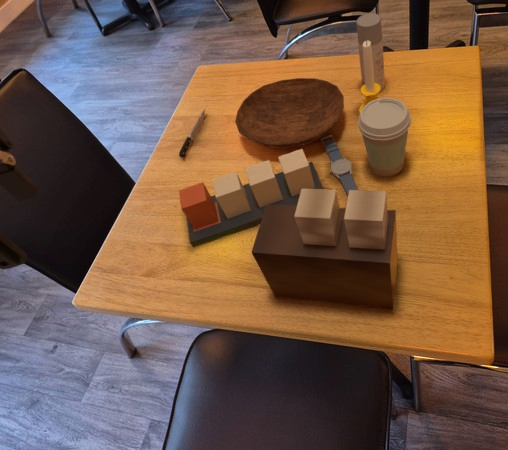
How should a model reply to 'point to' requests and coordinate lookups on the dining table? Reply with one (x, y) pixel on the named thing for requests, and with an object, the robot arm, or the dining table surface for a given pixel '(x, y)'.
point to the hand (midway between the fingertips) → (24, 227)
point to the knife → (192, 135)
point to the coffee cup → (385, 134)
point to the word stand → (330, 249)
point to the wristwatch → (339, 165)
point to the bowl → (290, 112)
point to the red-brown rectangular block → (198, 205)
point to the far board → (248, 216)
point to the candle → (368, 76)
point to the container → (371, 32)
